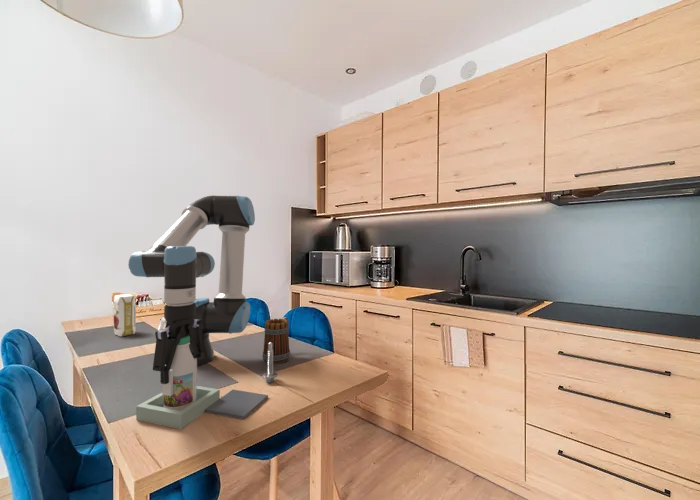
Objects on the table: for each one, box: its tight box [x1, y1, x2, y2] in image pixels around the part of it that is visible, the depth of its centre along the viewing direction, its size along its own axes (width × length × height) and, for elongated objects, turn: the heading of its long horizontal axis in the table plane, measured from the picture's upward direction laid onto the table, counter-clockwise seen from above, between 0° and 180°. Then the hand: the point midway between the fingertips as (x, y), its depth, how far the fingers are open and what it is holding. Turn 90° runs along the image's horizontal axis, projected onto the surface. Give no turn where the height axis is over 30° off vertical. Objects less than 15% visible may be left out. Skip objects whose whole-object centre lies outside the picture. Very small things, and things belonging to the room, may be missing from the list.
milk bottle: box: [164, 335, 197, 411], centre depth 85 cm, size 8×8×20 cm
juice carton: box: [113, 293, 137, 337], centre depth 154 cm, size 8×9×19 cm
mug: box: [262, 316, 291, 365], centre depth 126 cm, size 16×11×15 cm
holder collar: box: [135, 385, 221, 430], centre depth 86 cm, size 14×14×4 cm
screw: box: [262, 342, 279, 384], centre depth 104 cm, size 13×5×5 cm
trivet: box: [204, 389, 269, 420], centre depth 89 cm, size 12×12×1 cm
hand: (180, 387), depth 86 cm, fingers closed on milk bottle, 8 cm apart
